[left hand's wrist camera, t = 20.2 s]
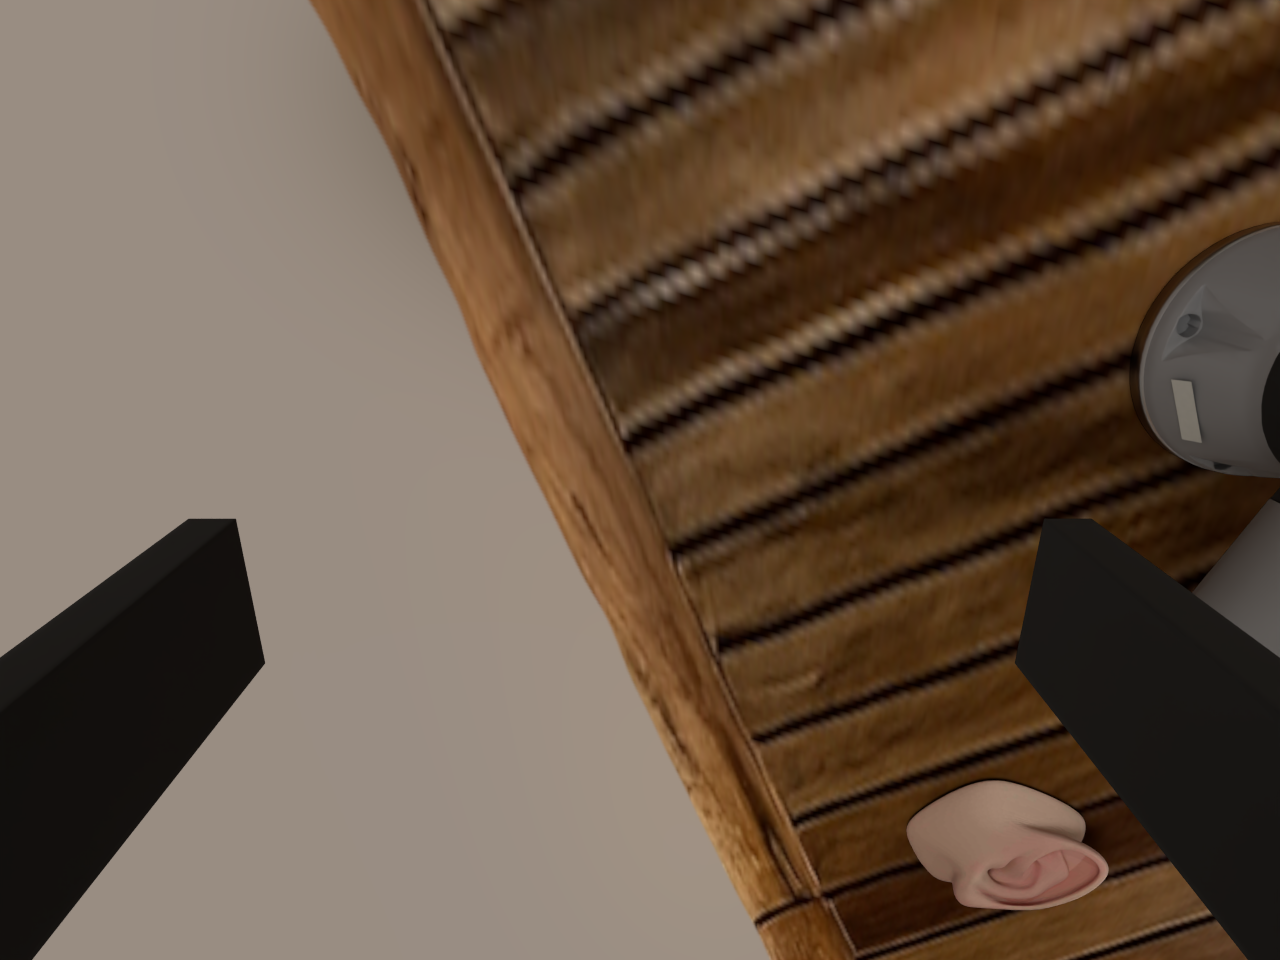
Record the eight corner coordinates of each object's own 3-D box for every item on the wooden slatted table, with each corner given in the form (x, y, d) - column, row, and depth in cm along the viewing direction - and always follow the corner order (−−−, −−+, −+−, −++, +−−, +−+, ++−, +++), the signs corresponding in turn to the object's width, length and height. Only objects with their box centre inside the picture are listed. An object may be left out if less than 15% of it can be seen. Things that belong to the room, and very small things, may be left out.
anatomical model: (897, 886, 58) (1006, 788, 55) (881, 844, 62) (982, 750, 59) (1022, 958, 61) (1133, 869, 58) (1000, 914, 65) (1103, 827, 61)
